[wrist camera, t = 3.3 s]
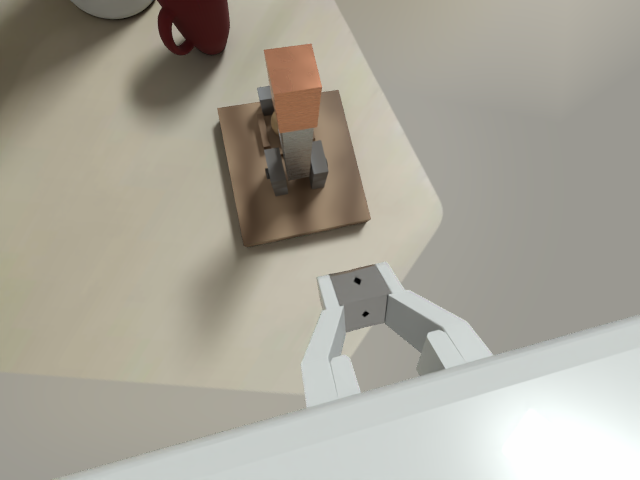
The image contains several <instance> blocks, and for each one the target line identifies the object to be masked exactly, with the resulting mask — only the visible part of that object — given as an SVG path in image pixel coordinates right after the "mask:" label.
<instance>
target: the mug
mask: <svg viewBox="0 0 640 480" xmlns="http://www.w3.org/2000/svg"><path fill="white" fill-rule="evenodd" d="M157 1H158V2H159V4H160V5H161V6H162V9H161V10H160V12H159V15H158V29H159V34H160V37H161V39H162V41H163V43H164V45H165V46H166V47H167V48H168V49H169V50H170V51H171V52H173V53H174V54H177V55H186V54H188V53H189V52H190V51H191V50H192V49H193V48H194V46H195V47H196V48H197V49H199V50H200V51H202V52H203V53H205V54H209V55H215V54H218V53H220V52H222V51H223V50H224V48H225V46H226V43H227V39H228V35H229V28H230V21H229V11H228V2H227V0H157ZM172 23H174V25H175V26H176V27H177V29H178V30H179V31H180V33H181V34H182V35H183V37H184V38H185V39H186V40H185V41H184V42H183V43H182V44H181V45H179V46H176V44H175V42H174V40H173V37H172Z"/></svg>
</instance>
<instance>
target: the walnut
mask: <svg viewBox="0 0 640 480" xmlns="http://www.w3.org/2000/svg"><path fill="white" fill-rule="evenodd" d="M271 126H272V129H273V131H274V132H275V133H276V134H277V135H278V136H279V131H278V129H279V128H278V124H277V119H276V115H275V111H274V113H273V114H272V117H271Z"/></svg>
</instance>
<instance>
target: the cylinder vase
mask: <svg viewBox="0 0 640 480" xmlns="http://www.w3.org/2000/svg"><path fill="white" fill-rule="evenodd" d="M71 1H72V2H73V3H74V4H75V5H76V6H77V7H79V8H80V9H82V10H83V11H85V12H87V13H89V14H91V15H94V16H97V17H100V18H106V19H122V18H127V17H130V16H133V15H135V14H138V13H139V12H141V11H143V10H144V9H145V8H146V7H148V6H149V5H150V3H151V2H152V1H153V0H71Z"/></svg>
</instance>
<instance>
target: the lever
mask: <svg viewBox="0 0 640 480" xmlns="http://www.w3.org/2000/svg"><path fill="white" fill-rule="evenodd" d="M264 54H265V60H266V66H267V72H268V78H269V84H270V90H271V96H272V101H273V106H274V110H275V115H276V119H277V124H278V128H279V129H278V131H279V137H280V144H281V149H282V153H283V158H284V162H285V167H286V171H287V176H288V181H289V180H294V179H300V178H305V177H309V174H310V163H311V152H312V142H313V131H314V128H316V127H317V125H318V116H319V108H320V99H321V91H322V85H321V81H320V77H319V73H318V69H317V65H316V61H315V56H314V52H313V48H312V44H306V45H298V46H290V47H283V48H275V49H267V50H264Z"/></svg>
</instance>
